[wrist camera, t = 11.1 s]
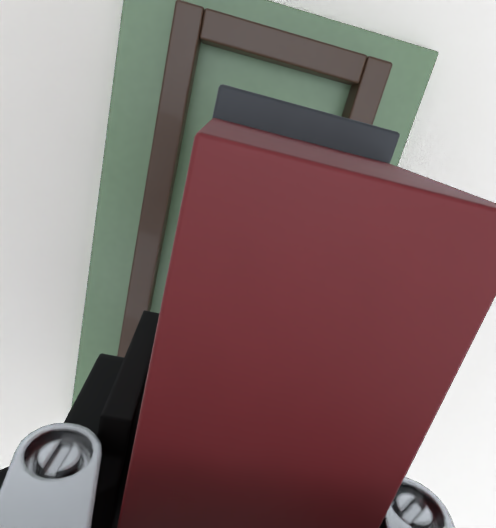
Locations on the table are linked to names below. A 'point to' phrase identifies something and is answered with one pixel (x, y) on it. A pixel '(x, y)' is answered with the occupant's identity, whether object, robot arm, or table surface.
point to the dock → (200, 113)
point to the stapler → (302, 324)
